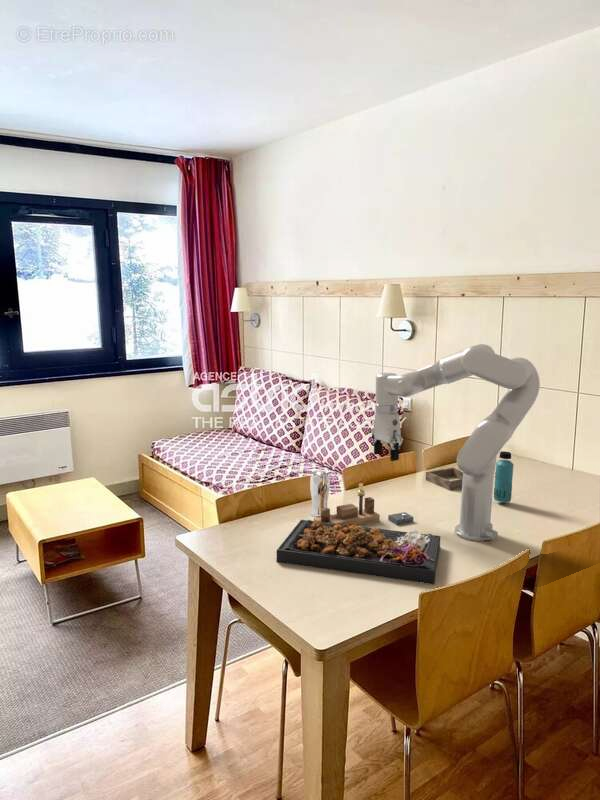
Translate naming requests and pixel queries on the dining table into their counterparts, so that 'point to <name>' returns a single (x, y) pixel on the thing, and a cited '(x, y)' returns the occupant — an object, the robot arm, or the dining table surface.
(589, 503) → the dining table surface
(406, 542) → the food platter
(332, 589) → the dining table surface
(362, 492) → the lever
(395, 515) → the grey rectangular block
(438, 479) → the square wooden tray
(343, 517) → the wooden post stand
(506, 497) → the beverage bottle
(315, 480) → the beer glass
